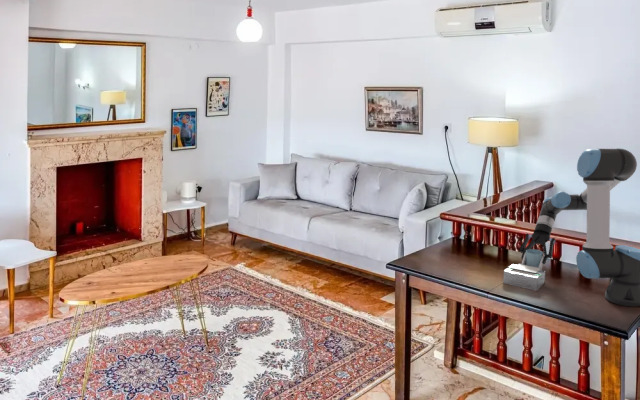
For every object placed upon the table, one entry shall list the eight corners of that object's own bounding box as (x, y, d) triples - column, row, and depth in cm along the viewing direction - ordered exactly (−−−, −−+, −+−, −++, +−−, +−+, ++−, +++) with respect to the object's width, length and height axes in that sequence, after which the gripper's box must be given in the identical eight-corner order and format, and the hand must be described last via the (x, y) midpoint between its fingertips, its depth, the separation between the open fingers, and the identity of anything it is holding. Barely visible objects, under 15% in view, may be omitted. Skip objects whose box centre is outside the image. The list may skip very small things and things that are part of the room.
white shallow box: (513, 272, 267) (514, 261, 265) (544, 279, 258) (545, 267, 257) (506, 278, 258) (506, 267, 257) (537, 285, 250) (538, 274, 248)
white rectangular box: (511, 275, 266) (512, 263, 265) (544, 282, 257) (545, 270, 256) (503, 283, 257) (503, 270, 255) (536, 290, 248) (537, 277, 246)
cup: (544, 273, 264) (546, 252, 262) (532, 276, 261) (534, 255, 259) (532, 268, 271) (534, 248, 269) (520, 271, 268) (522, 250, 266)
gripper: (566, 234, 268) (554, 275, 259) (524, 227, 280) (511, 266, 271) (564, 226, 263) (552, 267, 254) (521, 219, 275) (508, 259, 266)
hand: (531, 267), depth 263 cm, fingers closed on cup, 7 cm apart
